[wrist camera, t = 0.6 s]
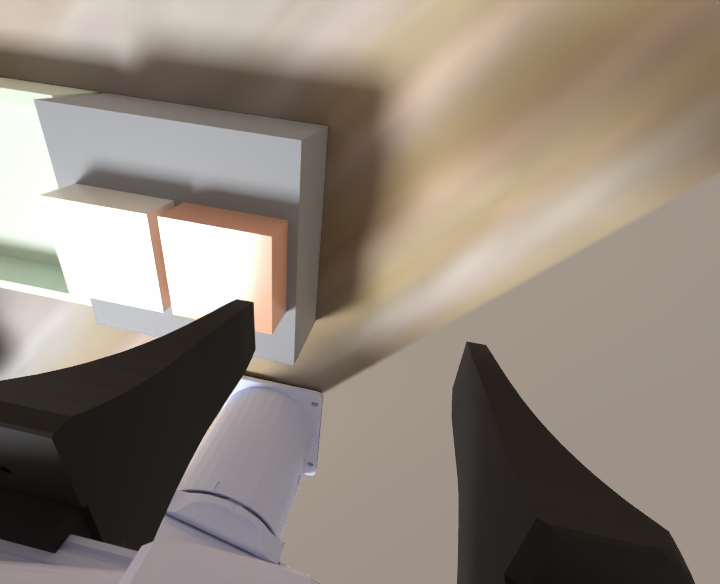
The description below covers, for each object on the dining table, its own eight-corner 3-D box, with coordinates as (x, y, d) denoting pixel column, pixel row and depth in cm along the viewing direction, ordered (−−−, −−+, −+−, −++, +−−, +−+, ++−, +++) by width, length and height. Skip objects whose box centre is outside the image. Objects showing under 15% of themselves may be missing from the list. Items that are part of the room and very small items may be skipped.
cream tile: (186, 292, 21) (163, 312, 19) (99, 275, 21) (69, 293, 20) (173, 200, 18) (146, 214, 17) (75, 183, 19) (38, 195, 17)
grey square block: (315, 320, 26) (293, 365, 22) (146, 287, 27) (97, 324, 23) (328, 126, 20) (301, 140, 16) (108, 93, 21) (33, 99, 17)
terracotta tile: (286, 311, 20) (272, 334, 19) (195, 294, 21) (172, 314, 19) (288, 220, 18) (271, 236, 16) (184, 202, 18) (157, 216, 16)
